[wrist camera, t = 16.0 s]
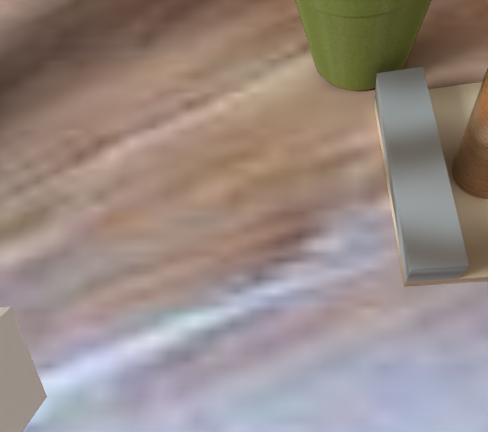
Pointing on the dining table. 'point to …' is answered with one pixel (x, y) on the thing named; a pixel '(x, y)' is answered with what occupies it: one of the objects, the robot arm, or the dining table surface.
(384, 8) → the plant pot
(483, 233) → the notch board
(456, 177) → the copper pin
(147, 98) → the dining table surface
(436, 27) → the dining table surface
